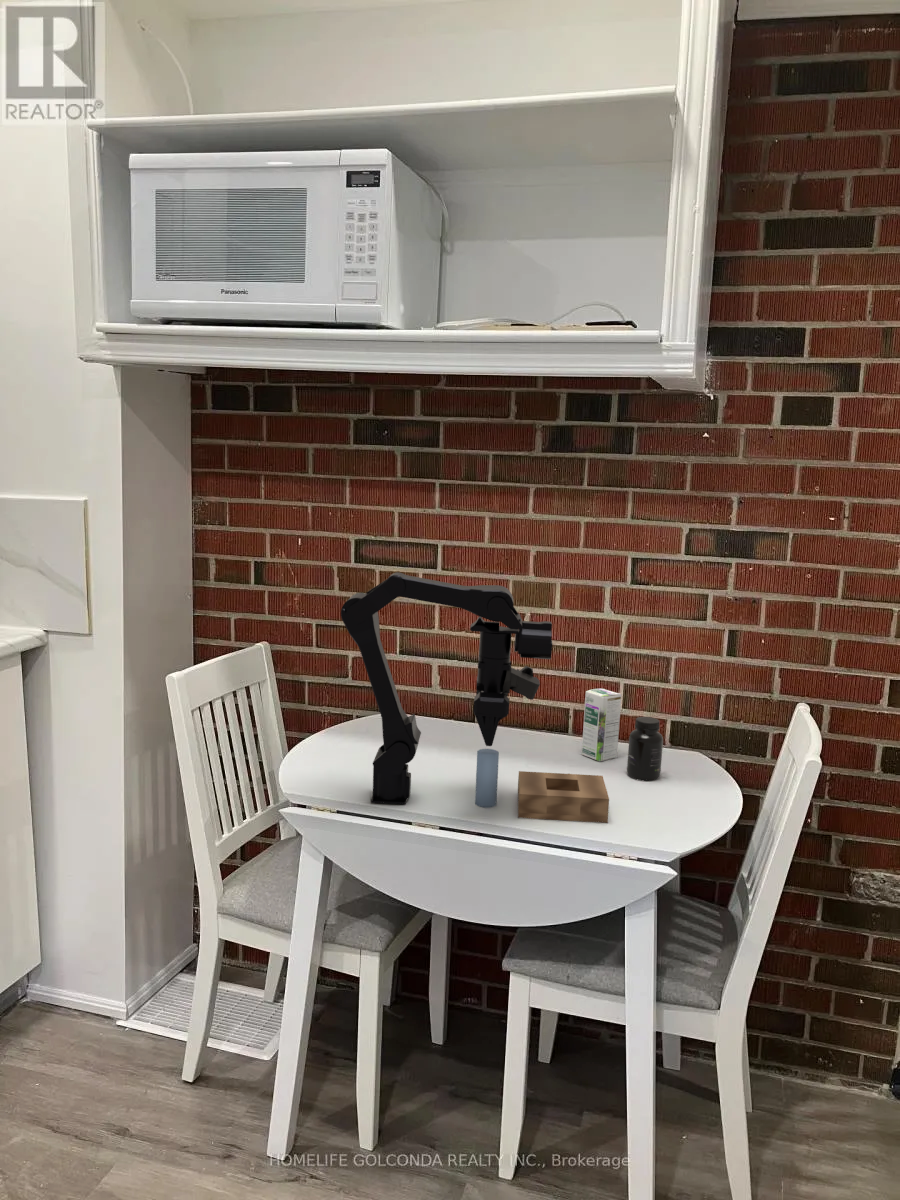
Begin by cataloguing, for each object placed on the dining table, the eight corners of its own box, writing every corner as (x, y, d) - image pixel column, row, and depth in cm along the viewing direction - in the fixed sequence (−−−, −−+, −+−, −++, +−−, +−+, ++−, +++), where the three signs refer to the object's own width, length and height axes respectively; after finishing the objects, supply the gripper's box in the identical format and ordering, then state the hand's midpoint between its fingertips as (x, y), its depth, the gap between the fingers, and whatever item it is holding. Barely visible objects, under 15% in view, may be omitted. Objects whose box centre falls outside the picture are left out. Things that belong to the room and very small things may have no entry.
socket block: (518, 817, 171) (519, 794, 170) (517, 793, 183) (518, 771, 182) (607, 822, 170) (609, 798, 170) (601, 798, 182) (602, 775, 181)
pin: (474, 806, 176) (476, 755, 174) (475, 798, 179) (477, 748, 178) (496, 808, 175) (498, 756, 174) (496, 800, 179) (498, 749, 178)
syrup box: (580, 754, 207) (584, 690, 205) (599, 750, 211) (603, 686, 208) (599, 762, 203) (603, 696, 200) (618, 757, 206) (622, 692, 204)
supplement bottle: (619, 774, 195) (623, 718, 193) (638, 767, 200) (642, 712, 198) (648, 784, 191) (652, 726, 189) (666, 776, 195) (671, 720, 193)
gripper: (540, 670, 163) (534, 757, 166) (537, 647, 181) (531, 726, 184) (475, 666, 164) (470, 753, 166) (479, 643, 182) (474, 722, 185)
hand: (489, 738), depth 175 cm, fingers open, 9 cm apart
